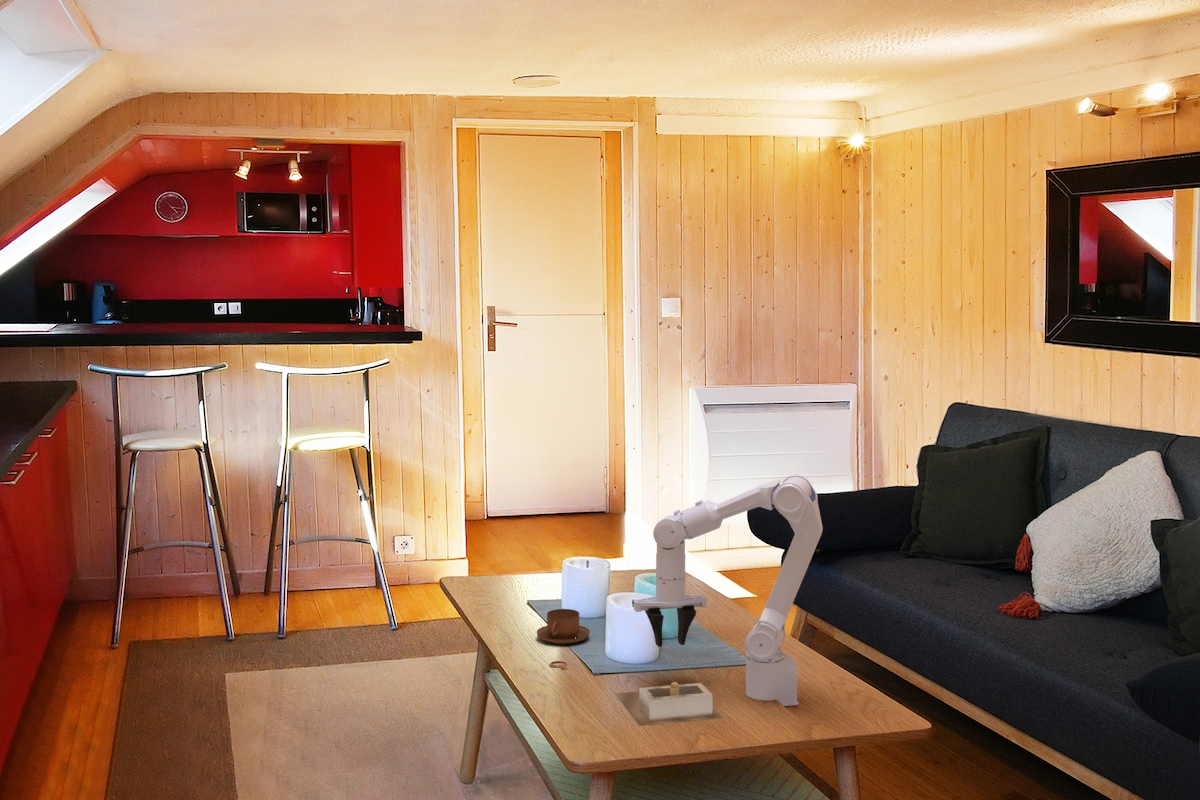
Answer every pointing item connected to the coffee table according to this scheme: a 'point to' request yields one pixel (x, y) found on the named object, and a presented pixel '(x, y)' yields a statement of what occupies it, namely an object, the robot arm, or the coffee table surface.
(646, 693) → the cream hollow block
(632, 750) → the coffee table surface
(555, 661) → the key
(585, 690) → the coffee table surface
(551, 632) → the cup and saucer
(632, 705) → the board
